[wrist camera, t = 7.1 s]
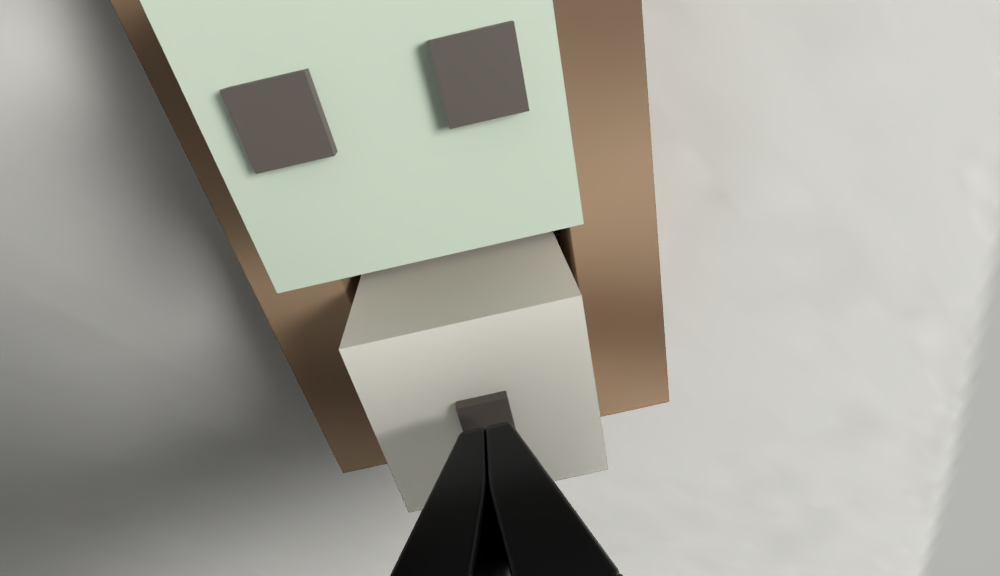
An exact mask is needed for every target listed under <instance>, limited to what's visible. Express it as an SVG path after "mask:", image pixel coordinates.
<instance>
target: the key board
mask: <svg viewBox="0 0 1000 576" xmlns="http://www.w3.org/2000/svg"><path fill="white" fill-rule="evenodd" d="M110 1H111V3H112V5H113V7H114V9H115V11H116V13H117V15H118V17H119V19H120V21H121V23H122V25H123V27H124V29H125V31H126V33H127V35H128V38H129V40H130V42H131V44H132V46H133V48H134V50H135V52H136V54H137V56H138V58H139V60H140V62H141V64H142V66H143V68H144V70H145V72H146V74H147V76H148V78H149V80H150V82H151V84H152V86H153V88H154V90H155V92H156V94H157V96H158V98H159V100H160V102H161V104H162V106H163V109H164V111H165V113H166V115H167V117H168V119H169V121H170V123H171V125H172V127H173V129H174V131H175V133H176V135H177V137H178V139H179V141H180V143H181V145H182V147H183V149H184V151H185V153H186V155H187V157H188V159H189V161H190V163H191V165H192V167H193V169H194V171H195V173H196V175H197V177H198V179H199V182H200V184H201V186H202V188H203V190H204V192H205V194H206V196H207V198H208V200H209V202H210V204H211V206H212V208H213V210H214V212H215V214H216V216H217V218H218V220H219V222H220V224H221V226H222V228H223V230H224V232H225V234H226V236H227V238H228V240H229V242H230V244H231V246H232V248H233V250H234V252H235V255H236V257H237V259H238V261H239V263H240V265H241V267H242V269H243V271H244V273H245V275H246V277H247V279H248V281H249V283H250V285H251V287H252V289H253V291H254V293H255V295H256V297H257V299H258V301H259V303H260V305H261V307H262V309H263V311H264V313H265V315H266V317H267V319H268V321H269V323H270V326H271V328H272V330H273V332H274V334H275V336H276V338H277V340H278V342H279V344H280V346H281V348H282V350H283V352H284V354H285V356H286V358H287V360H288V362H289V364H290V366H291V368H292V370H293V372H294V374H295V376H296V378H297V380H298V382H299V384H300V386H301V388H302V390H303V392H304V394H305V396H306V399H307V401H308V403H309V405H310V407H311V409H312V411H313V413H314V415H315V417H316V419H317V421H318V423H319V425H320V427H321V429H322V431H323V433H324V435H325V437H326V439H327V441H328V443H329V445H330V447H331V449H332V451H333V453H334V455H335V457H336V459H337V461H338V463H339V465H340V467H341V469H342V472H343V473H346V472H350V471H355V470H359V469H364V468H369V467H373V466H378V465H382V464H387V461H386V459H385V456H384V454H383V452H382V449H381V447H380V445H379V442H378V440H377V438H376V435H375V433H374V431H373V428H372V426H371V424H370V421H369V419H368V417H367V414H366V412H365V410H364V407H363V405H362V403H361V401H360V398H359V396H358V394H357V391H356V389H355V387H354V384H353V382H352V380H351V377H350V375H349V373H348V370H347V368H346V366H345V363H344V361H343V359H342V356H341V354H340V352H339V347H340V343H341V340H342V337H343V333H344V330H345V327H346V324H347V320H348V317H349V314H350V311H351V307H352V304H353V301H354V297H355V294H356V291H357V288H358V284H359V281H360V278H361V275H362V274H361V275H357V276H352V277H348V278H344V279H339V280H335V281H330V282H326V283H321V284H317V285H313V286H308V287H304V288H299V289H295V290H290V291H286V292H282V293H277V292H276V290H275V288H274V285H273V283H272V281H271V279H270V277H269V275H268V273H267V271H266V268H265V266H264V264H263V262H262V260H261V258H260V256H259V254H258V251H257V249H256V247H255V245H254V243H253V241H252V239H251V236H250V234H249V232H248V230H247V228H246V226H245V224H244V222H243V219H242V217H241V215H240V213H239V211H238V209H237V207H236V205H235V202H234V200H233V198H232V196H231V194H230V192H229V190H228V188H227V185H226V183H225V181H224V179H223V177H222V175H221V173H220V170H219V168H218V166H217V164H216V162H215V160H214V158H213V156H212V153H211V151H210V149H209V147H208V145H207V143H206V141H205V139H204V136H203V134H202V132H201V130H200V128H199V126H198V124H197V122H196V119H195V117H194V115H193V113H192V111H191V109H190V107H189V104H188V102H187V100H186V98H185V96H184V94H183V92H182V90H181V87H180V85H179V83H178V81H177V79H176V77H175V75H174V73H173V70H172V68H171V66H170V64H169V62H168V60H167V58H166V56H165V53H164V51H163V49H162V47H161V45H160V43H159V41H158V38H157V36H156V34H155V32H154V30H153V28H152V26H151V24H150V21H149V19H148V17H147V15H146V13H145V11H144V9H143V7H142V4H141V2H140V0H110ZM553 7H554V15H555V22H556V29H557V36H558V43H559V50H560V57H561V64H562V72H563V79H564V86H565V93H566V100H567V107H568V114H569V121H570V129H571V136H572V143H573V150H574V157H575V164H576V171H577V178H578V186H579V193H580V200H581V207H582V214H583V221H584V224H582V225H578V226H573V227H569V228H564V229H560V230H558V232H559V238H560V244H561V250H562V253H563V255H564V257H565V259H566V262H567V264H568V266H569V268H570V270H571V273H572V275H573V277H574V279H575V281H576V284H577V286H578V288H579V290H580V292H581V295H582V300H583V306H584V313H585V319H586V326H587V333H588V339H589V346H590V352H591V359H592V365H593V372H594V378H595V385H596V391H597V398H598V404H599V411H600V417H602V416H606V415H611V414H616V413H620V412H625V411H629V410H634V409H638V408H643V407H648V406H652V405H657V404H661V403H666V402H669V391H668V376H667V362H666V348H665V333H664V319H663V305H662V290H661V276H660V261H659V247H658V233H657V218H656V204H655V190H654V175H653V161H652V146H651V132H650V118H649V103H648V89H647V75H646V60H645V46H644V31H643V17H642V3H641V0H553Z"/></svg>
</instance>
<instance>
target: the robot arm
mask: <svg viewBox="0 0 1000 576" xmlns="http://www.w3.org/2000/svg"><path fill="white" fill-rule="evenodd" d="M390 576H623V575H622V574H619V571H618V569H617V567H616V566H615V565H614V563H613V562H612V560H611V559H610V558H609V556H608V555H607V554H606V552H605V551H604V549H603V548H602V547H601V545H600V544H599V543H598V541H597V540H596V538H595V537H594V536H593V534H592V533H591V532H590V530H589V529H588V528H587V526H586V525H585V523H584V522H583V521H582V519H581V518H580V517H579V515H578V514H577V512H576V511H575V510H574V508H573V507H572V506H571V504H570V503H569V502H568V500H567V499H566V497H565V496H564V495H563V493H562V492H561V491H560V489H559V488H558V486H557V485H556V484H555V482H554V481H553V480H552V478H551V477H550V475H549V474H548V473H547V471H546V470H545V469H544V467H543V466H542V465H541V463H540V462H539V460H538V459H537V458H536V456H535V455H534V454H533V452H532V451H531V449H530V448H529V447H528V445H527V444H526V443H525V441H524V440H523V439H522V437H521V436H520V434H519V433H518V432H517V430H516V429H515V428H514V426H513V425H512V424H511V423H510V422H503V423H499V424H494V425H490V426H488V427H487V429H486V430H485V429H484V428H476V429H471V430H467V431H463V432H461V433H460V434H459V436H458V438H457V440H456V442H455V444H454V446H453V448H452V450H451V452H450V454H449V456H448V458H447V460H446V463H445V465H444V467H443V469H442V471H441V473H440V475H439V477H438V479H437V481H436V483H435V485H434V487H433V489H432V491H431V493H430V495H429V497H428V499H427V501H426V503H425V505H424V508H423V510H422V512H421V514H420V516H419V518H418V520H417V522H416V524H415V526H414V528H413V530H412V532H411V534H410V536H409V538H408V540H407V542H406V544H405V546H404V548H403V550H402V553H401V555H400V557H399V559H398V561H397V563H396V565H395V567H394V569H393V571H392V573H391V575H390Z"/></svg>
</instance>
